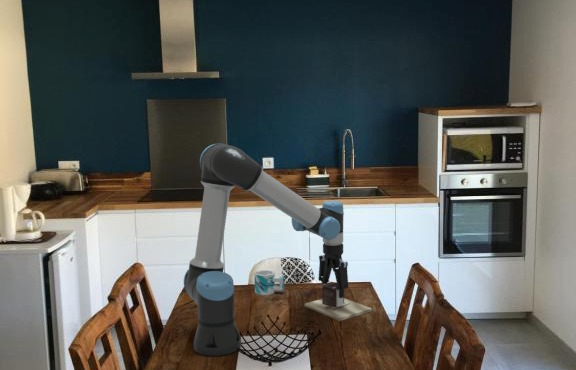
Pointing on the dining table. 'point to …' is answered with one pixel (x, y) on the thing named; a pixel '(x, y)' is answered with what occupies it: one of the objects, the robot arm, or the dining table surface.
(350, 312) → the board
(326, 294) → the box
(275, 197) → the robot arm
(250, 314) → the dining table surface
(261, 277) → the mug
